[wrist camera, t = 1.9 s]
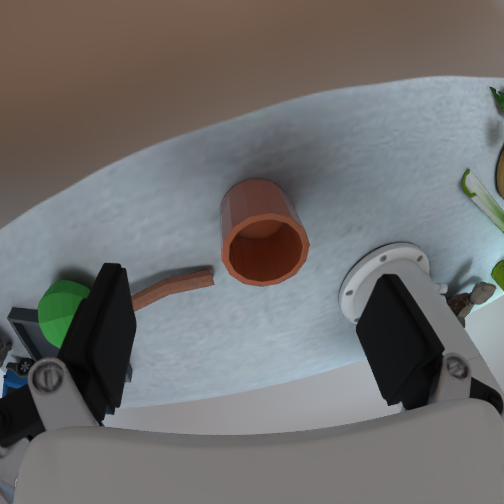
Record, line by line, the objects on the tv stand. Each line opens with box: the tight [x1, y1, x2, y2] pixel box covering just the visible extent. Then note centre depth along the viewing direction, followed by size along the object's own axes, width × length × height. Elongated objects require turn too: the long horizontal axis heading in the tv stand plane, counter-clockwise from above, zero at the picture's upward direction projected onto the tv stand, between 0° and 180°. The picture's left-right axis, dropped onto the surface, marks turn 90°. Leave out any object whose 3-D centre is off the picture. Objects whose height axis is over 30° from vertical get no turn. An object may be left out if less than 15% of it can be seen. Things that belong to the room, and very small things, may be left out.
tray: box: [7, 307, 132, 382], centre depth 33 cm, size 16×12×2 cm
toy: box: [446, 282, 496, 328], centre depth 34 cm, size 19×10×15 cm
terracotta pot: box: [220, 179, 310, 287], centre depth 23 cm, size 6×6×6 cm
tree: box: [38, 269, 215, 349], centre depth 27 cm, size 8×8×20 cm
